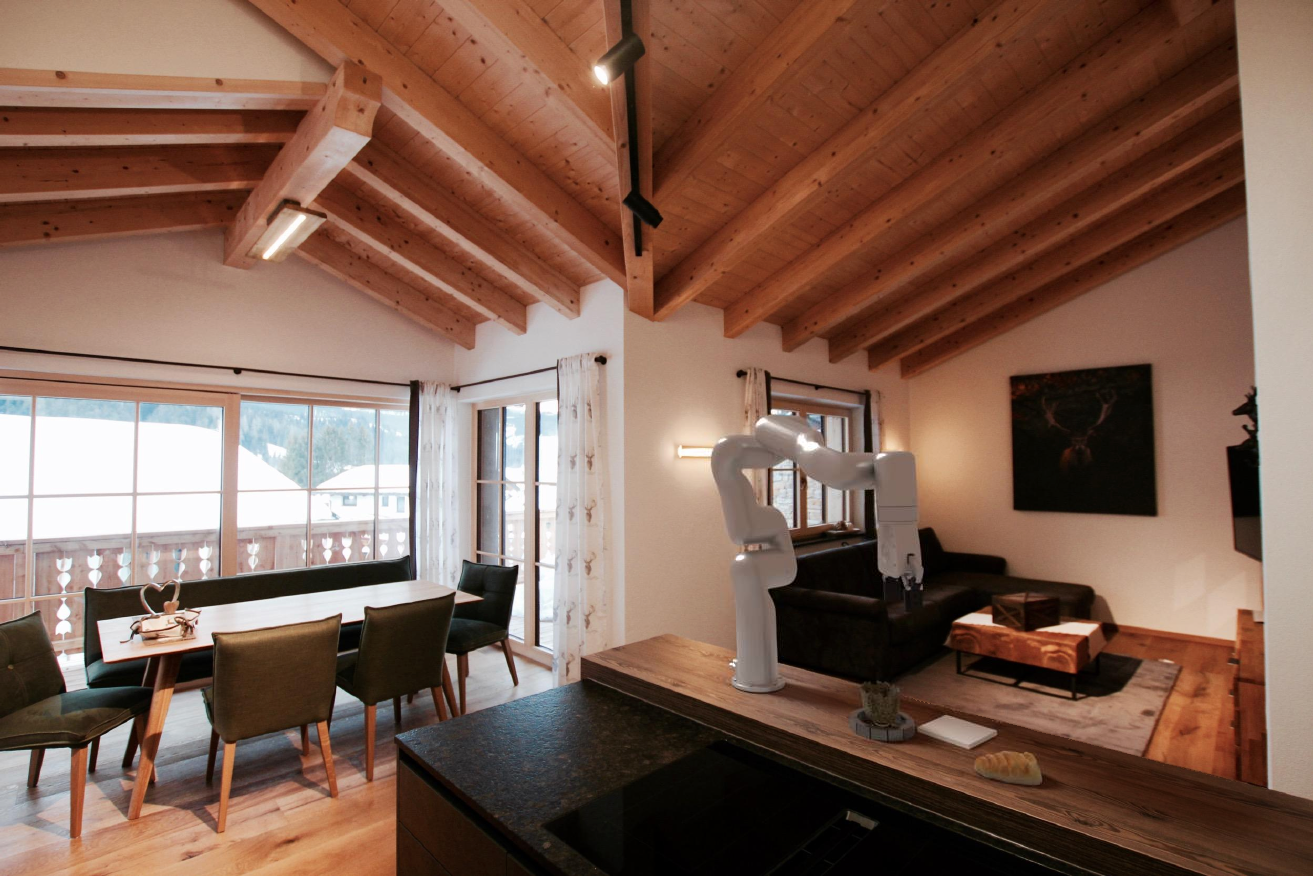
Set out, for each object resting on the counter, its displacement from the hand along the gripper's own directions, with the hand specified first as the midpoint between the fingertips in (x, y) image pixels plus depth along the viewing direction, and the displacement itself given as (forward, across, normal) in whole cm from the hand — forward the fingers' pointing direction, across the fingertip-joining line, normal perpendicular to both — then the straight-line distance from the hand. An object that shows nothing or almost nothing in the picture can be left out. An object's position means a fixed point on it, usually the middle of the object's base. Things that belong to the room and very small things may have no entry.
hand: (903, 606), depth 117 cm
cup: (+24, -5, -4) cm, 25 cm away
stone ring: (+24, -5, -4) cm, 25 cm away
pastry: (+25, +15, +10) cm, 31 cm away
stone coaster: (+24, -2, +10) cm, 26 cm away
